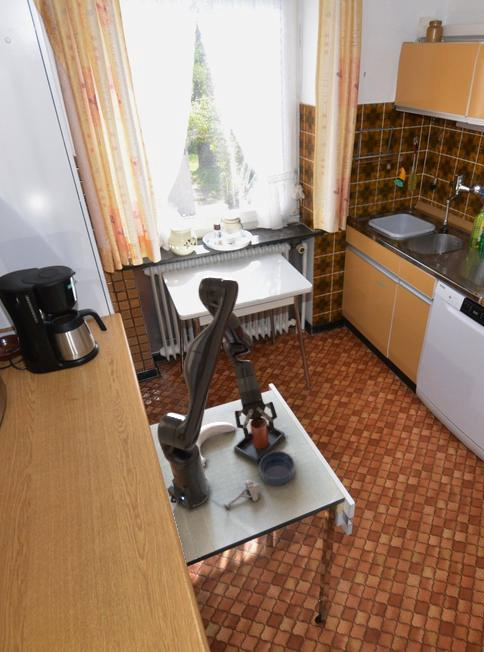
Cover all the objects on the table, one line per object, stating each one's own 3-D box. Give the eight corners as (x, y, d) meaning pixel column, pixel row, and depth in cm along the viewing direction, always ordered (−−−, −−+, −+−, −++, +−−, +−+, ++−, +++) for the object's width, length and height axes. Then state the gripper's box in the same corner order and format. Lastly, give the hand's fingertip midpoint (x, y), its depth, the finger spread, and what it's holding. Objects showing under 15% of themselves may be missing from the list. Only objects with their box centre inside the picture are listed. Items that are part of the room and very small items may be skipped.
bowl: (280, 493, 138) (279, 485, 136) (253, 476, 144) (252, 468, 142) (301, 469, 145) (300, 461, 143) (274, 453, 151) (273, 445, 149)
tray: (257, 465, 148) (257, 460, 146) (234, 451, 154) (233, 446, 152) (284, 437, 157) (284, 432, 156) (262, 425, 163) (261, 420, 162)
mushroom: (220, 493, 135) (253, 473, 138) (222, 499, 138) (255, 478, 142) (230, 513, 131) (265, 491, 134) (232, 518, 134) (266, 497, 138)
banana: (229, 421, 166) (247, 446, 155) (183, 444, 159) (197, 472, 148) (227, 412, 163) (245, 437, 152) (179, 435, 157) (194, 462, 146)
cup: (261, 451, 152) (259, 431, 147) (249, 444, 155) (246, 424, 150) (272, 440, 156) (270, 421, 151) (259, 433, 159) (257, 414, 154)
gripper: (230, 394, 150) (241, 441, 147) (270, 384, 153) (282, 430, 150) (229, 396, 157) (239, 441, 154) (267, 386, 160) (278, 430, 157)
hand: (260, 435), depth 152 cm, fingers open, 8 cm apart
